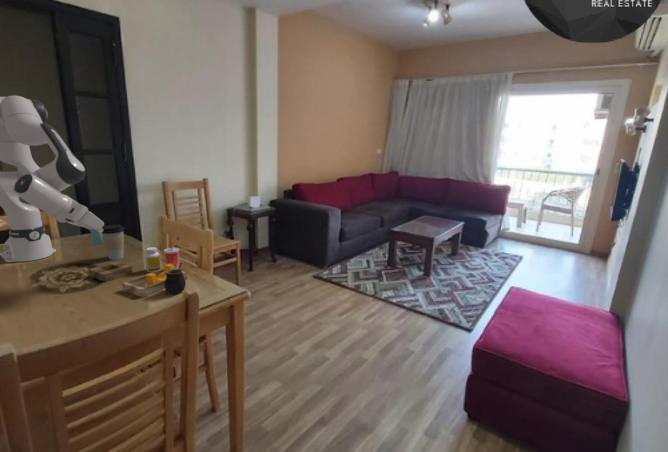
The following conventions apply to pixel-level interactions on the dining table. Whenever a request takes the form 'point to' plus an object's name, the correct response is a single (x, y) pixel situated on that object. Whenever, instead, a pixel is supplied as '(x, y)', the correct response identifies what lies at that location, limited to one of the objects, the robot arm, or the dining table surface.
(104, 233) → the coffee cup
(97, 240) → the peg
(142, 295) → the clamp corral
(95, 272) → the socket block
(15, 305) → the dining table surface
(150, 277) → the pipe clamp
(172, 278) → the mate gourd
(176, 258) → the beverage cup
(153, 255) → the supplement bottle
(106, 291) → the dining table surface
